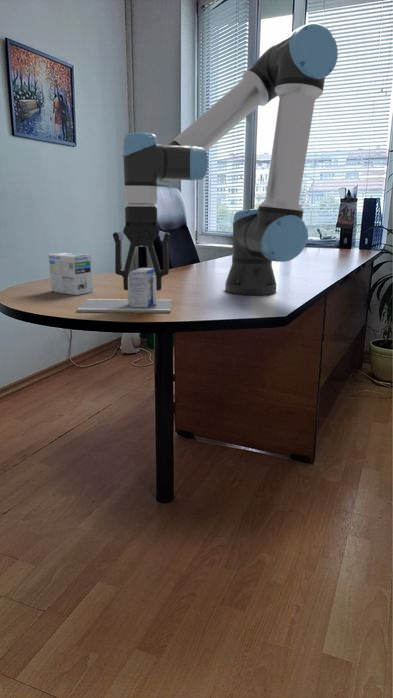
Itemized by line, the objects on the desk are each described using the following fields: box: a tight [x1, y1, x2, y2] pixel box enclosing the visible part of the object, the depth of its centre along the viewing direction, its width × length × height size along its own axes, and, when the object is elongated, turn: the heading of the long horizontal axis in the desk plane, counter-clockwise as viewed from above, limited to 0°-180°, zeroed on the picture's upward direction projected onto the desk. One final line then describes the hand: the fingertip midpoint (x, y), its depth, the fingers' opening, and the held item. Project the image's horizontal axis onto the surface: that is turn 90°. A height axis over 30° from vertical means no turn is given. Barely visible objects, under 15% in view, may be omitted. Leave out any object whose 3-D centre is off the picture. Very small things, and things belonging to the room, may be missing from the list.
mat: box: [76, 298, 173, 314], centre depth 118 cm, size 22×12×1 cm, turn 91°
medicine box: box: [129, 267, 156, 308], centre depth 117 cm, size 8×4×9 cm, turn 170°
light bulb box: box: [48, 252, 94, 296], centre depth 135 cm, size 11×7×11 cm, turn 58°
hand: (143, 303), depth 118 cm, fingers open, 5 cm apart
